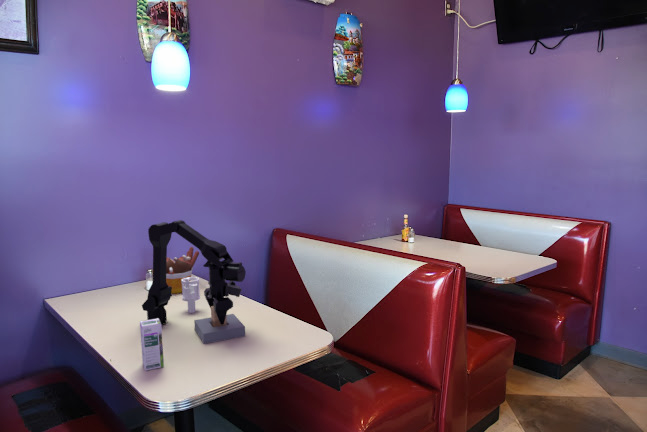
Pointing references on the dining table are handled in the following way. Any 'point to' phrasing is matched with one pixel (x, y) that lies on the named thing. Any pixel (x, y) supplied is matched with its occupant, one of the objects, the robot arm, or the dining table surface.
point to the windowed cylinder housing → (190, 292)
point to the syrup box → (151, 344)
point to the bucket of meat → (180, 270)
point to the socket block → (219, 329)
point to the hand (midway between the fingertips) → (218, 320)
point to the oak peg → (216, 319)
